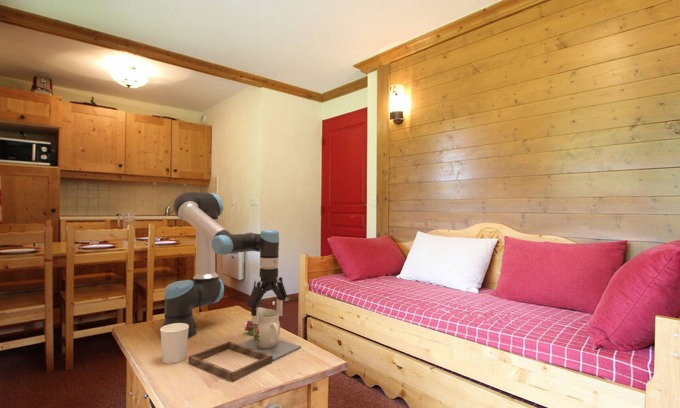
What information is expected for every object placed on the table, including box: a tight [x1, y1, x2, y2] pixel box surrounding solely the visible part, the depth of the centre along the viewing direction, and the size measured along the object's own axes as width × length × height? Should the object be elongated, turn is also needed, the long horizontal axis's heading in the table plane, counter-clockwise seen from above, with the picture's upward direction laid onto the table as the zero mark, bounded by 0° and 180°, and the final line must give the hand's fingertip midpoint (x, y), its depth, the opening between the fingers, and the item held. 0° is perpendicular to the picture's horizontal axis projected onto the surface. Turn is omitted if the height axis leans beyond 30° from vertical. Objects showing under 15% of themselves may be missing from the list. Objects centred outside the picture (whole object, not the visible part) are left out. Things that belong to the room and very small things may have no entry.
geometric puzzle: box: [243, 318, 254, 337], centre depth 163 cm, size 7×7×8 cm
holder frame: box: [187, 341, 273, 383], centre depth 132 cm, size 24×18×2 cm
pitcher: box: [253, 306, 281, 349], centre depth 146 cm, size 11×18×14 cm, turn 36°
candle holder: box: [159, 323, 189, 365], centre depth 135 cm, size 10×10×12 cm
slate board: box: [238, 338, 302, 362], centre depth 146 cm, size 22×16×1 cm
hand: (267, 319), depth 147 cm, fingers open, 13 cm apart
